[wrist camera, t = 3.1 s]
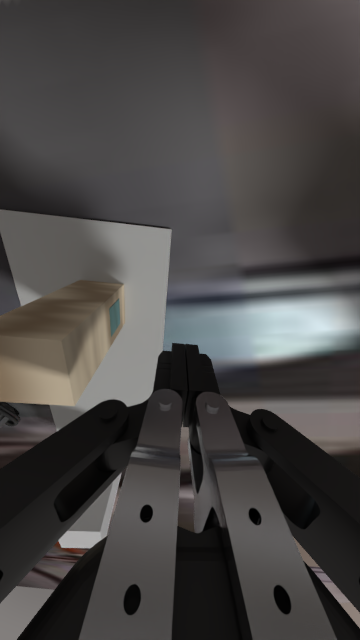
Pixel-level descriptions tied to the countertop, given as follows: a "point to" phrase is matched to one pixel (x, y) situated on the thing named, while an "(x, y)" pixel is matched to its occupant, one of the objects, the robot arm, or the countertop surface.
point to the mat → (102, 266)
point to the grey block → (92, 521)
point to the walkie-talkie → (8, 415)
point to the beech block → (58, 342)
